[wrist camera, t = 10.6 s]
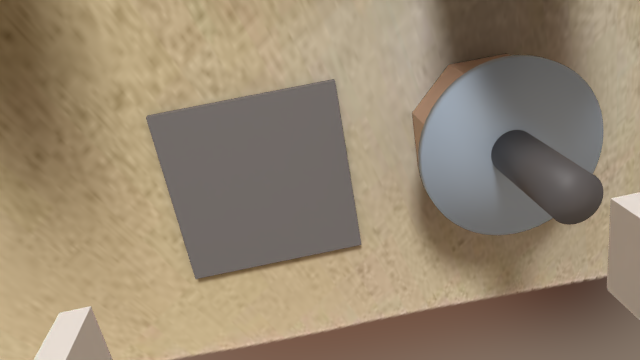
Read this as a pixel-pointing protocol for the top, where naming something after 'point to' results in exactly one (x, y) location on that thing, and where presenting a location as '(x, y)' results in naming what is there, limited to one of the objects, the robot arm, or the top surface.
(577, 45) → the top surface
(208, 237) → the mat
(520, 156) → the lid
